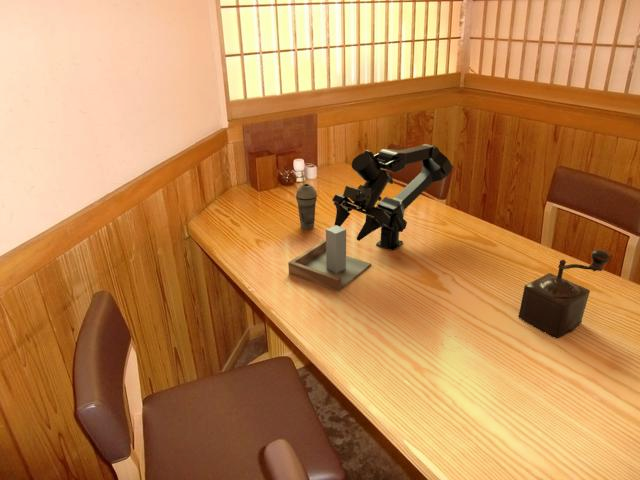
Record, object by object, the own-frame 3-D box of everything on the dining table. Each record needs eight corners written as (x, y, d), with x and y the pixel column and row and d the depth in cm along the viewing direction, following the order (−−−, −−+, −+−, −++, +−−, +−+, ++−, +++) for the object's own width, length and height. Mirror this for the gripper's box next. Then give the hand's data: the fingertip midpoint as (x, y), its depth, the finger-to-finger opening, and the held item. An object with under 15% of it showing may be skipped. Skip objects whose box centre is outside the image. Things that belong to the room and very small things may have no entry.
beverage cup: (315, 232, 158) (314, 176, 149) (294, 230, 159) (292, 175, 150) (319, 223, 164) (318, 169, 156) (299, 222, 166) (297, 168, 157)
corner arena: (323, 250, 146) (323, 240, 145) (371, 265, 137) (371, 254, 135) (288, 273, 134) (288, 262, 132) (338, 291, 125) (338, 280, 123)
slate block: (336, 263, 137) (336, 225, 132) (346, 268, 135) (346, 229, 129) (326, 268, 135) (325, 229, 129) (336, 273, 132) (335, 233, 127)
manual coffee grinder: (559, 341, 105) (577, 272, 97) (516, 317, 113) (530, 252, 105) (596, 317, 112) (616, 251, 104) (553, 296, 120) (569, 234, 112)
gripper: (336, 167, 135) (308, 213, 133) (385, 182, 122) (355, 233, 121) (354, 186, 143) (329, 229, 141) (402, 202, 130) (375, 250, 129)
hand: (345, 234), depth 133 cm, fingers open, 9 cm apart
